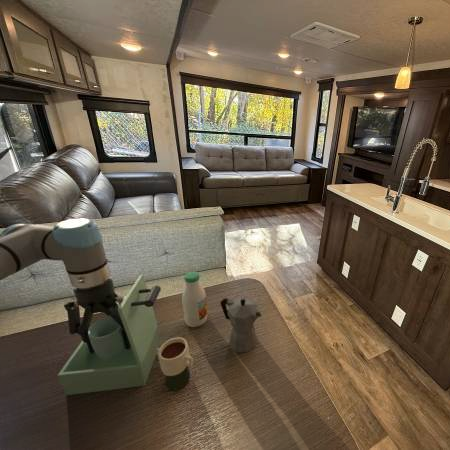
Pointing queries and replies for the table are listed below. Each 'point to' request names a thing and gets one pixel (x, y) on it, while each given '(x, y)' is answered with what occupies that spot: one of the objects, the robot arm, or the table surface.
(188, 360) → the character mug
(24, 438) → the table surface
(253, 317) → the coffeepot
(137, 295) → the lid
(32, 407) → the table surface
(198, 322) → the milk bottle
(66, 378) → the chest
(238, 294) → the table surface
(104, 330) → the cup
